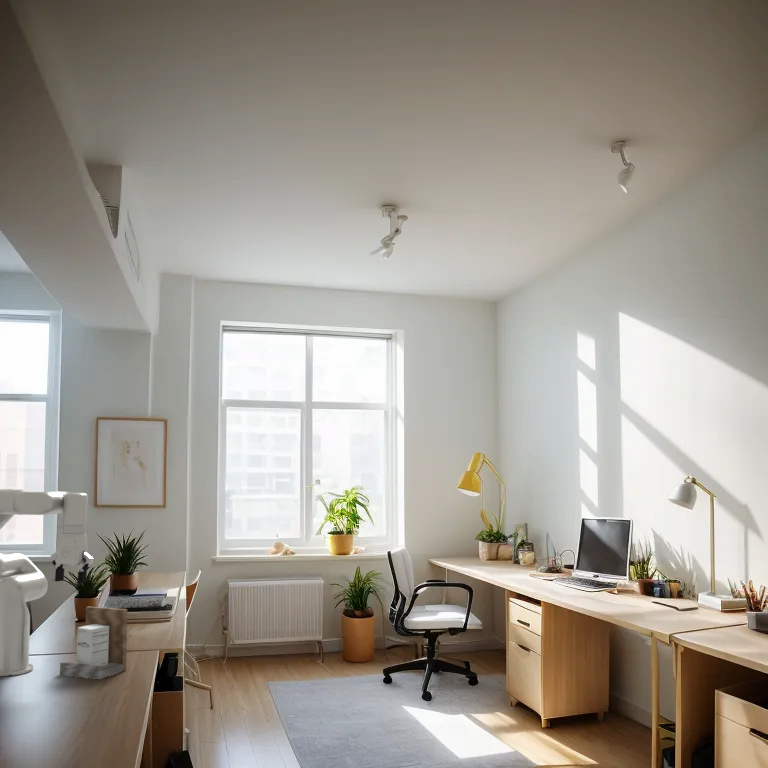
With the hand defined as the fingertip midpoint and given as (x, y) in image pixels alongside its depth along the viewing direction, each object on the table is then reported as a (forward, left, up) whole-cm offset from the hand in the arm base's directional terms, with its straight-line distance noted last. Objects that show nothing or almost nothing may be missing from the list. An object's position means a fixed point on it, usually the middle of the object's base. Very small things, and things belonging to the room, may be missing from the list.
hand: (70, 582), depth 252 cm
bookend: (+5, +5, -30) cm, 31 cm away
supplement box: (+6, +5, -28) cm, 29 cm away
